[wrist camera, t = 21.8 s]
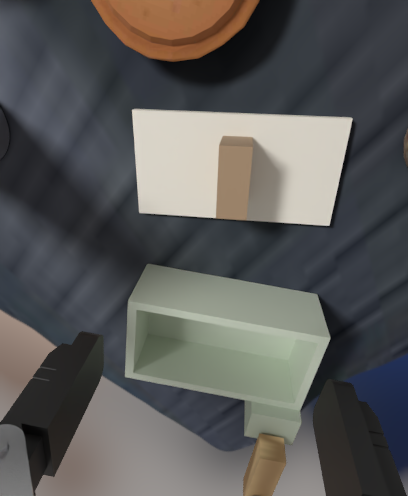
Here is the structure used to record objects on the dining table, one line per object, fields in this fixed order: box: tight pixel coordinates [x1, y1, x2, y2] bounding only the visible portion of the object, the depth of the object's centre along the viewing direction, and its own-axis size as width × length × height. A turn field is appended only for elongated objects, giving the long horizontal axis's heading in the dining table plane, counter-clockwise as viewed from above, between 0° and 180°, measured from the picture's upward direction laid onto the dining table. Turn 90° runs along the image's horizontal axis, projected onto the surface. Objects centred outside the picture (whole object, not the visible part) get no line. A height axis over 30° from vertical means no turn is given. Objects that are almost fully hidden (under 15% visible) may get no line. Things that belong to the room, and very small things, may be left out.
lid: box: [132, 109, 353, 226], centre depth 34 cm, size 22×11×6 cm, turn 89°
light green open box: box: [125, 264, 331, 445], centre depth 43 cm, size 22×16×10 cm
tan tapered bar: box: [243, 433, 286, 496], centre depth 42 cm, size 3×10×4 cm, turn 172°
